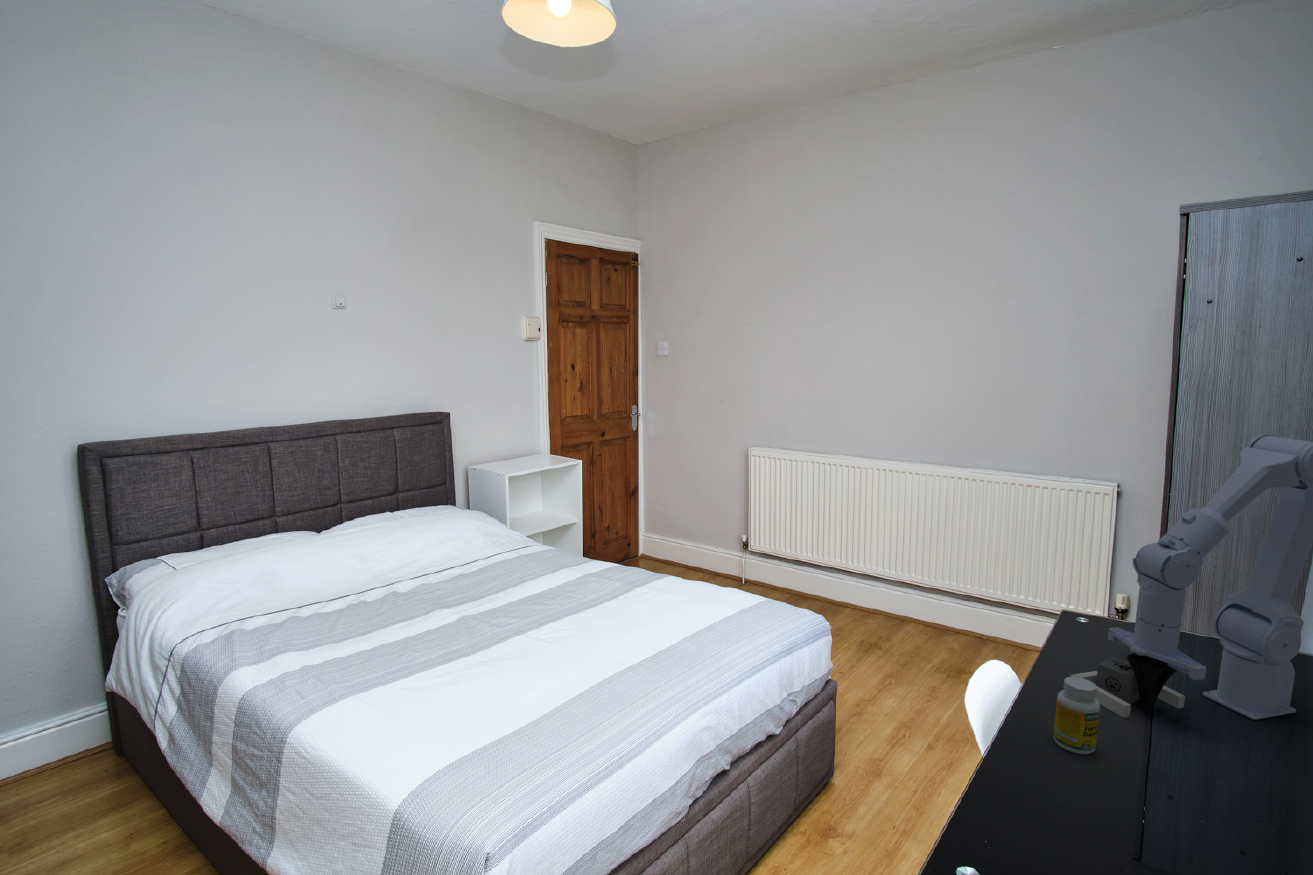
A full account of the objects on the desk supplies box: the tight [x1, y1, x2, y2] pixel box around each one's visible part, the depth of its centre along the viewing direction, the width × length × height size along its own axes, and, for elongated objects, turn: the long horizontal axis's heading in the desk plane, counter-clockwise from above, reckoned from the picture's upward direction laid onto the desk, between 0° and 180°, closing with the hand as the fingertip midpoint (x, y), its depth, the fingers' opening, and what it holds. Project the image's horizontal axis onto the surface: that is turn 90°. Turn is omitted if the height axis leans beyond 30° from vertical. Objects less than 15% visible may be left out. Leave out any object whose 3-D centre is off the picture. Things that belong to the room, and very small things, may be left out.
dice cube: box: [1096, 656, 1140, 705], centre depth 113 cm, size 5×5×5 cm
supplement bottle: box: [1052, 676, 1101, 755], centre depth 98 cm, size 5×5×10 cm
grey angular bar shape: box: [1069, 670, 1186, 719], centre depth 113 cm, size 12×10×2 cm
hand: (1147, 700), depth 109 cm, fingers closed
